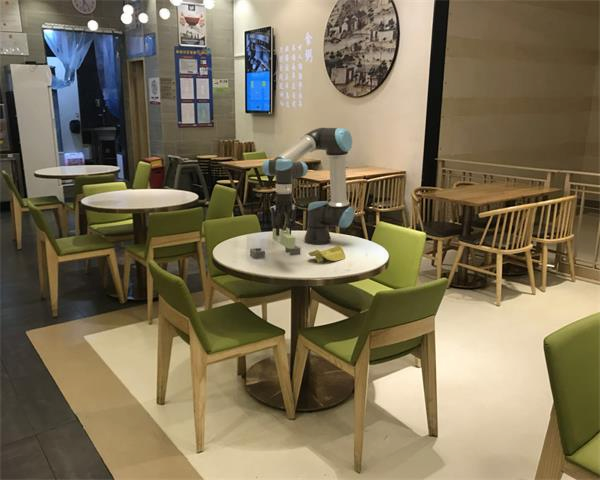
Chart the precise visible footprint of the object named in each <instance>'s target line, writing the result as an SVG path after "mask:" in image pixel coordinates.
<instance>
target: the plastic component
mask: <svg viewBox="0 0 600 480" xmlns="http://www.w3.org/2000/svg"><path fill="white" fill-rule="evenodd" d="M307 254H308V255H309V257H315V260H316V263H321V262H323V261H324V259H325V260H327V261H330V262H338V261H341V260H345V259H346V253H345V252H344V249H343V247H342V246H341V245H337V246H334V247H332V248H328V249H325V250H323V249H322V250H319V249H316V250H313V251H310V252H307ZM320 261H321V262H320Z"/></svg>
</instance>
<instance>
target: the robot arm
mask: <svg viewBox="0 0 600 480" xmlns="http://www.w3.org/2000/svg"><path fill="white" fill-rule="evenodd" d="M352 146H353V137H352V134H351V132H350V131H349V130H348V129H346V128H342V127H319V128H318V127H317V128H315V129H313V130H311V131H309V132H307V133H305V134H304V135H302V136H301V138H300V139H299V140H298V141H297V142H296V143H294V144H293V145H292V146H290V147H288V148H287V149H286V150H285V151H284V152H282V153H280V154H279V155H277V156H276V157H275V158H274V159H266V160H264V161H262V162H263V163H262V166H261V169H262V174H264V175H265V176H270V177H275V203H274V205H273V206H269V210H270V218H271V227H272V229H276V235H277V236H278V242H279V243H278V242H277V243H278V244H280V243H281V229H282V228H281V223H282V216H283V214H284V215H285V220H286V227H285V232H287V233H288V234H290V235H292V229H293V228H294V227H296V222H297V221H296V219H297V218H296V217H297V210H298V206H297V205H294V204H293V203H292V201H293V193H292V192H293V179H300V178H301V179H302V178H303V177H305V176H307V173H308V170H309V168H308V165H307V164H306V163H305V162H304V161H299V160H300V159H302V158H303V157H304V156H306V155H307V154H308V153H312V152H315V151H318V150H319V151H320V150H321V151H325V155H326V156H327V157H328V159H329V160H328V161H329V162H328V163H329V183H330V184H329V185H330V186H329V187H330V188H329V190H330V201H327V200H322V201H321V200H320V201H313V202H310V203H309V204H308V207H307V229H306V231H305V235H304V239H303V240H304V243H306V244H309V245H328V244H330V243H331V239H332V238H331V234H330V230H329V227H335V228H336V227H337V228H342V229H343V228H348V227H350V226H351V224H352V222H353V220H354V217H355V211H354V208H353V207H352V206H350V205H351V203H350V201H349V200H348V199H347V196H348V195H347V167H346V156H347V155H349V151H351V149H352ZM290 210H291V211H290ZM276 211H277V216H276Z"/></svg>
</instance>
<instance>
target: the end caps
mask: <svg viewBox="0 0 600 480" xmlns="http://www.w3.org/2000/svg"><path fill="white" fill-rule="evenodd" d="M284 248H285V251H284V252H285V253H286V252H287V253H289V256H299V255H300V256H301V247H300V246H298V245H296V244H295V248H289V249H288V248H286V247H285V246H284ZM249 255H250V257H251V258H252V259H254V260H256V259H257V260H258V259H266V251H265V250H262V247H255V248H249Z"/></svg>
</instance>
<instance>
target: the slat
mask: <svg viewBox="0 0 600 480" xmlns="http://www.w3.org/2000/svg"><path fill="white" fill-rule="evenodd" d="M280 229H281V243H279V242H278V236H277V235H276V229H275V228H272V240H274V241H275V242H277V243H278V244H280V245H282V246H283V247H284V248H285V247H286V248H288V249H289V248H295V245H296V237H295V236H293V235H292V234H291V235H290V234H288V233H287V232H286V230H283V229H282V228H280Z"/></svg>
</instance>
